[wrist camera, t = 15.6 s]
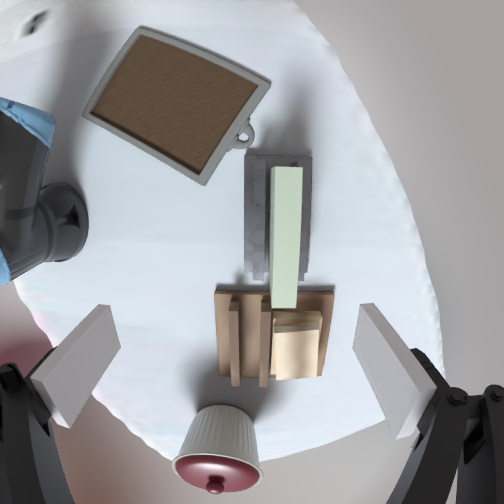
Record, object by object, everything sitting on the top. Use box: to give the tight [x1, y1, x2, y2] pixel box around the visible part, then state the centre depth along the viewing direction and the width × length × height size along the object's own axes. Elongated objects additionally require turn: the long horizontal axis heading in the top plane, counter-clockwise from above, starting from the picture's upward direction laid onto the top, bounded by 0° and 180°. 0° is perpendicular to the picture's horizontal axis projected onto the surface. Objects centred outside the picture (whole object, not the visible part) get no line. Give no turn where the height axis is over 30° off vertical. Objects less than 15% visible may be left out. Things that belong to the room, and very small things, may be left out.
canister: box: [172, 405, 263, 494], centre depth 46 cm, size 18×18×21 cm
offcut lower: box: [270, 311, 322, 374], centre depth 47 cm, size 8×12×2 cm, turn 0°
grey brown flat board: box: [82, 27, 271, 186], centre depth 38 cm, size 19×2×30 cm
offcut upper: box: [273, 322, 319, 380], centre depth 44 cm, size 7×10×2 cm
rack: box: [214, 290, 334, 387], centre depth 47 cm, size 20×18×6 cm
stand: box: [244, 155, 312, 281], centre depth 40 cm, size 10×18×8 cm, turn 0°
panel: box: [268, 166, 303, 308], centre depth 34 cm, size 2×14×16 cm, turn 0°
